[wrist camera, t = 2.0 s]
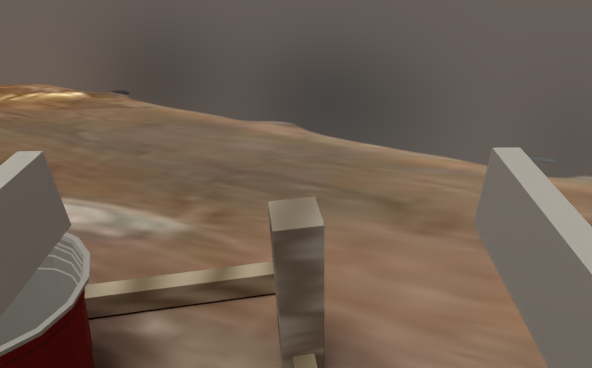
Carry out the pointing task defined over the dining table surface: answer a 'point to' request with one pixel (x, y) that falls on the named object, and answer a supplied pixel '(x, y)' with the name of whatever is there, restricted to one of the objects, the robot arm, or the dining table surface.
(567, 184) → the dining table surface
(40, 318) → the plastic cup
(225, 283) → the open rectangular frame
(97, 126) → the dining table surface
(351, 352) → the dining table surface
